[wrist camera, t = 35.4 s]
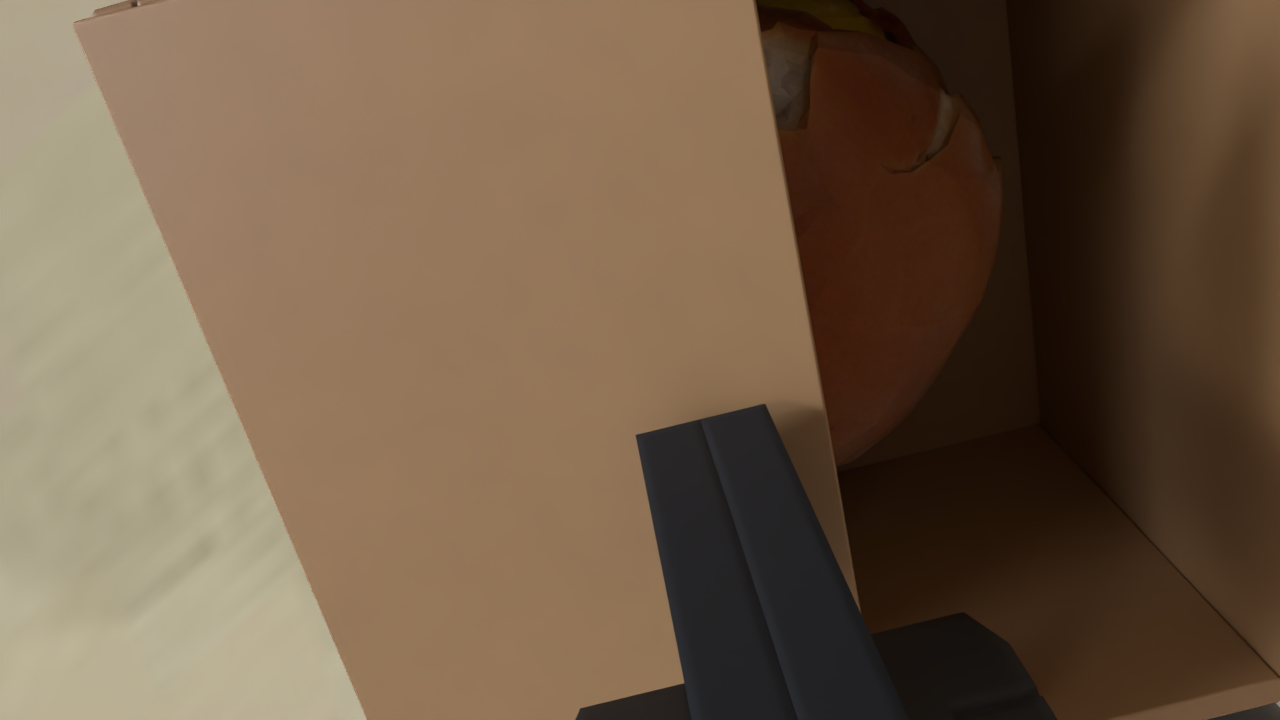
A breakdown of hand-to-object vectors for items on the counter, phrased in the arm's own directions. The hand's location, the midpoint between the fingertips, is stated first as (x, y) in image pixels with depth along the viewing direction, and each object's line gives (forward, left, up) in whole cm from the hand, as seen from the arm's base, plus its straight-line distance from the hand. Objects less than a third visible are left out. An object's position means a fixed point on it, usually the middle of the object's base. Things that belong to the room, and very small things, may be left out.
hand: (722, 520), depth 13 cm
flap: (0, +2, -1) cm, 2 cm away
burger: (0, -2, -11) cm, 11 cm away
